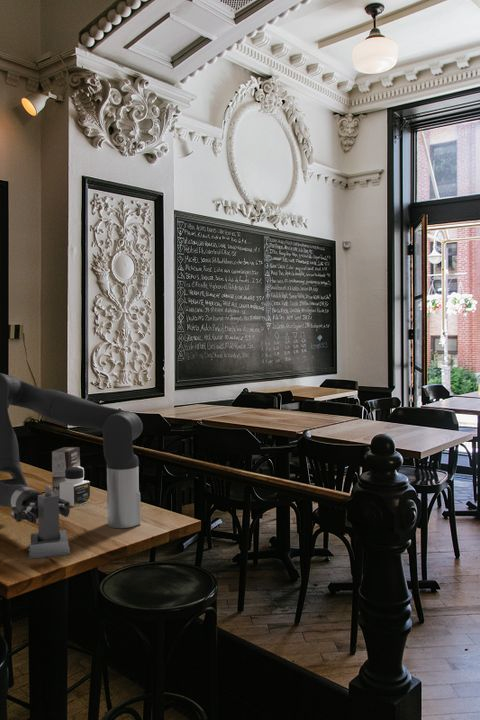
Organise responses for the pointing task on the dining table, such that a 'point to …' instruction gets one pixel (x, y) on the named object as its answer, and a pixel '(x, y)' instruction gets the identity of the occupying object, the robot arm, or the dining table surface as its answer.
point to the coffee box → (63, 465)
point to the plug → (48, 516)
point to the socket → (48, 546)
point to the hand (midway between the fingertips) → (51, 516)
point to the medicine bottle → (75, 487)
